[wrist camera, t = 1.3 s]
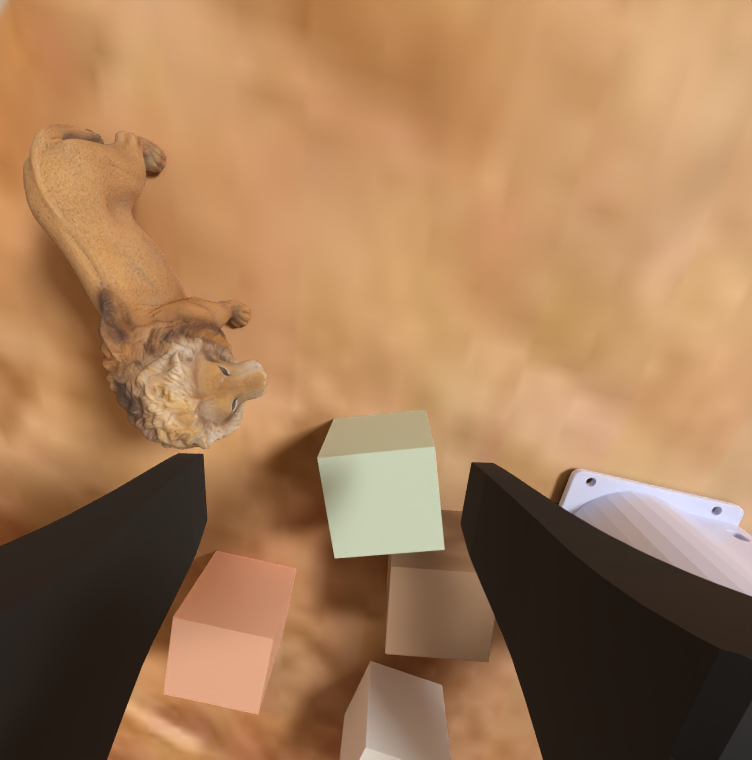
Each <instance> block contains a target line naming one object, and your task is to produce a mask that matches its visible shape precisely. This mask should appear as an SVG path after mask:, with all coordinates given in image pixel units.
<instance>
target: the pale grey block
mask: <svg viewBox="0 0 752 760" xmlns="http://www.w3.org/2000/svg"><path fill="white" fill-rule="evenodd" d="M340 760H451V753H450V745H449V736H448V728H447V720H446V712H445V704H444V696H443V688H442V685H440V684H437V683H434V682H432V681H429V680H426V679H423V678H420V677H417V676H414V675H411V674H408V673H405V672H402V671H399V670H396V669H393V668H390V667H387V666H385V665H382V664H379V663H376V662H373V661H370V663H369V665H368V667H367V669H366V671H365V673H364V675H363V677H362V679H361V682H360V684H359V686H358V688H357V690H356V692H355V694H354V696H353V698H352V700H351V702H350V704H349V706H348V708H347V711H346V713H345V715H344V724H343V733H342V742H341V752H340Z"/></svg>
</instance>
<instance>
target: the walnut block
mask: <svg viewBox="0 0 752 760" xmlns="http://www.w3.org/2000/svg"><path fill="white" fill-rule="evenodd" d="M462 512H463V511H448V510H441V516H442V527H443V537H444V547H445V550H435V551H422V552H410V553H397V554H389V555H388V570H387V593H386V636H385V654H393V655H406V656H418V657H431V658H443V659H456V660H468V661H481V662H488V661H489V655H490V648H491V642H492V635H493V628H494V622H495V616H494V613H493V611H492V609H491V606H490V604H489V602H488V599H487V597H486V595H485V592H484V590H483V588H482V586H481V583H480V581H479V578H478V576H477V574H476V571H475V569H474V567H473V564H472V562H471V559H470V557H469V553H468V550H467V547H466V543H465V539H464V536H463V532H462V528H461V524H460V523H461V517H462Z"/></svg>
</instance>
